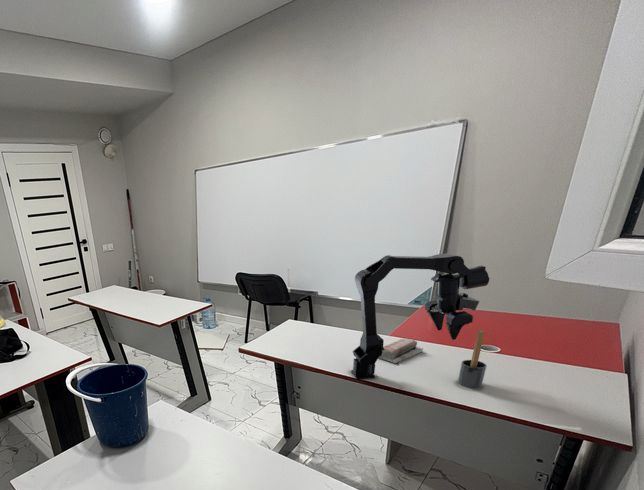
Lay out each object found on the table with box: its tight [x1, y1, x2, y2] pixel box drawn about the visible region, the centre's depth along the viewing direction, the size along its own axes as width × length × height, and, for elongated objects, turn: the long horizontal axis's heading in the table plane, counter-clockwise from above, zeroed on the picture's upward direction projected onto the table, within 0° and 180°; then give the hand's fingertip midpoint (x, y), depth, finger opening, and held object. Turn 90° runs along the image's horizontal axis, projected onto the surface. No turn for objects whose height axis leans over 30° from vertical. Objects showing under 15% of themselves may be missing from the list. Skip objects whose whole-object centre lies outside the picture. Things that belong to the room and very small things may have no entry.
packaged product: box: [378, 338, 424, 364], centre depth 147 cm, size 18×5×10 cm
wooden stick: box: [470, 329, 485, 368], centre depth 117 cm, size 1×2×19 cm, turn 153°
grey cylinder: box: [457, 359, 488, 389], centre depth 119 cm, size 6×6×8 cm
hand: (446, 334), depth 125 cm, fingers open, 9 cm apart
